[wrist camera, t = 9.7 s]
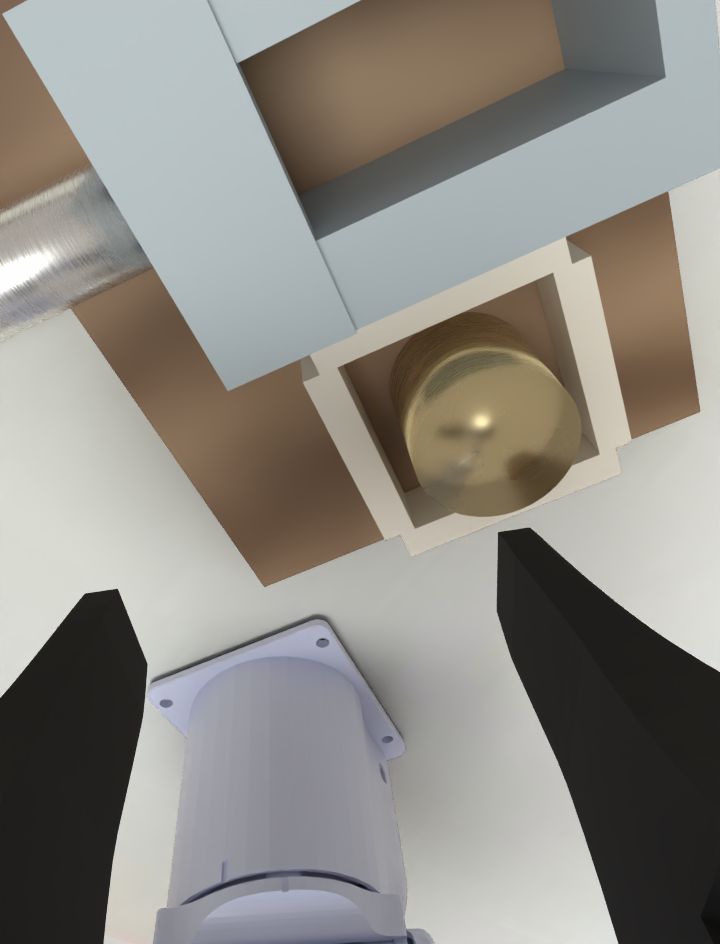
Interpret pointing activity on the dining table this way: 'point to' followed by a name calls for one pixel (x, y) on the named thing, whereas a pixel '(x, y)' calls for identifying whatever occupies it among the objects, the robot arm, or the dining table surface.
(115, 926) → the dining table surface
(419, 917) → the dining table surface
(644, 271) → the walnut board
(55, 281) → the shaft
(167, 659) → the dining table surface
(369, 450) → the collar
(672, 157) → the block
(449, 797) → the dining table surface
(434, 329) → the cylinder
